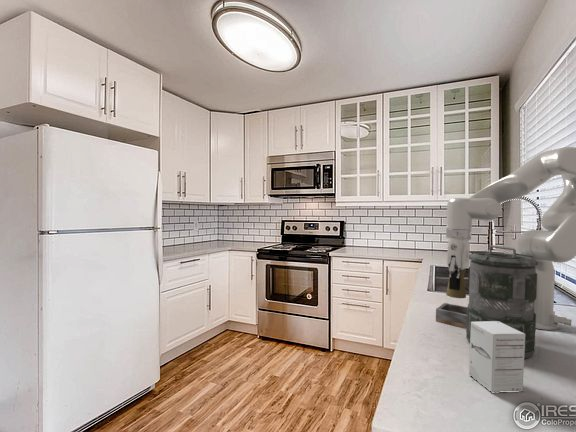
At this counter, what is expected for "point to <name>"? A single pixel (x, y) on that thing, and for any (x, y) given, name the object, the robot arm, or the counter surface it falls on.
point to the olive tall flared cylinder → (461, 292)
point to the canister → (503, 292)
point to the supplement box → (497, 356)
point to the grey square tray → (452, 315)
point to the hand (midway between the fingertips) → (456, 287)
